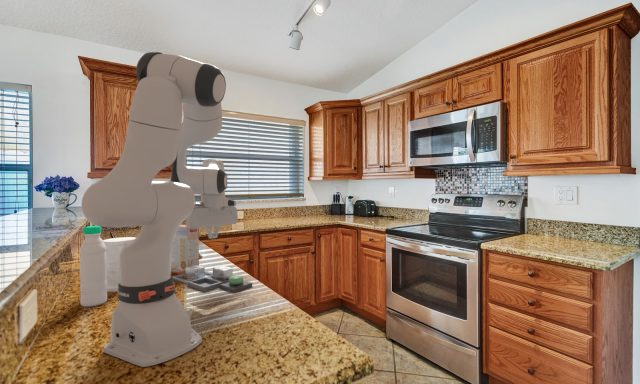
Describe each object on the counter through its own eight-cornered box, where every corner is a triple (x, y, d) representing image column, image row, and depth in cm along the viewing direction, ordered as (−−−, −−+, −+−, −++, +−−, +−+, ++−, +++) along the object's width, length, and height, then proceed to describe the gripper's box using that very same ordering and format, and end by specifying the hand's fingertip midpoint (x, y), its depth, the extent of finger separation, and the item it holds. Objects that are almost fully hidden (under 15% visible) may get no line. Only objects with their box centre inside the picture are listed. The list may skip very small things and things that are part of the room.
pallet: (239, 284, 119) (239, 277, 119) (204, 295, 107) (204, 287, 107) (222, 279, 126) (222, 272, 126) (187, 289, 114) (187, 281, 114)
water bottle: (93, 308, 97) (91, 228, 96) (74, 306, 98) (72, 227, 98) (112, 300, 104) (111, 225, 103) (94, 298, 105) (93, 224, 105)
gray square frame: (217, 279, 126) (217, 274, 126) (188, 287, 116) (188, 282, 116) (200, 274, 133) (200, 269, 133) (172, 281, 124) (172, 276, 124)
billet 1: (204, 279, 124) (204, 267, 124) (195, 282, 121) (195, 269, 121) (195, 276, 128) (194, 264, 128) (185, 279, 125) (185, 266, 125)
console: (252, 289, 113) (252, 282, 113) (233, 296, 106) (233, 288, 106) (238, 285, 118) (238, 279, 118) (220, 291, 111) (219, 284, 111)
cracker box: (200, 273, 134) (199, 225, 134) (187, 277, 129) (186, 227, 129) (180, 269, 142) (179, 223, 142) (168, 272, 137) (167, 225, 136)
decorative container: (119, 281, 124) (118, 236, 124) (145, 282, 123) (144, 237, 122) (93, 291, 113) (92, 241, 113) (122, 292, 111) (121, 242, 111)
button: (246, 288, 112) (246, 276, 112) (234, 292, 108) (234, 280, 108) (237, 285, 115) (237, 274, 115) (226, 289, 111) (225, 277, 111)
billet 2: (232, 281, 119) (232, 268, 119) (223, 283, 116) (223, 270, 116) (221, 278, 123) (221, 265, 123) (212, 280, 120) (212, 267, 120)
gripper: (191, 203, 109) (191, 242, 110) (239, 201, 125) (239, 235, 125) (182, 202, 113) (182, 240, 114) (230, 200, 129) (230, 233, 130)
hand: (212, 238), depth 120 cm, fingers closed
